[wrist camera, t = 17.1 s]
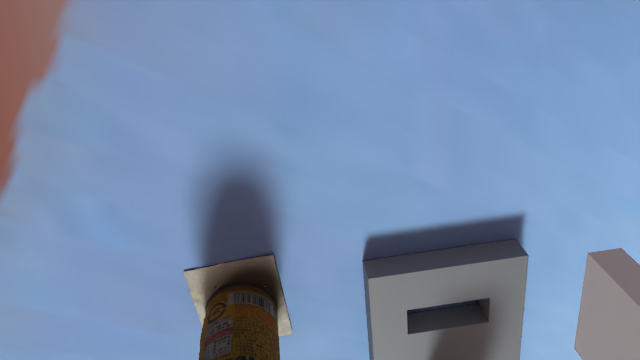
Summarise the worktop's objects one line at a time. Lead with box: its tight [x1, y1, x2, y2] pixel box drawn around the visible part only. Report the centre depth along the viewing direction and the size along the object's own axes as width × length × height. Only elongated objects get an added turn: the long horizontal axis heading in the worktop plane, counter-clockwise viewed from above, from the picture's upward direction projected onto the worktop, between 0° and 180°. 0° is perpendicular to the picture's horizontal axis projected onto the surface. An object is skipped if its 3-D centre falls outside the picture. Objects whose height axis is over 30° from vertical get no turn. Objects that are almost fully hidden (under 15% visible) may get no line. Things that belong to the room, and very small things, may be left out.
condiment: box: [184, 255, 293, 360], centre depth 42 cm, size 7×8×12 cm
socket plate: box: [363, 239, 529, 360], centre depth 50 cm, size 13×19×2 cm
